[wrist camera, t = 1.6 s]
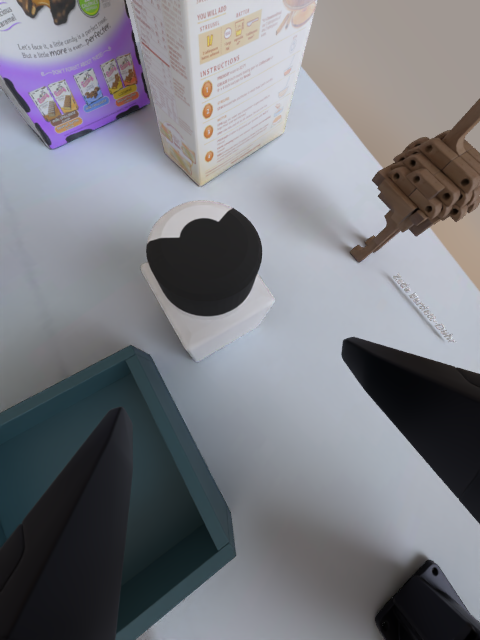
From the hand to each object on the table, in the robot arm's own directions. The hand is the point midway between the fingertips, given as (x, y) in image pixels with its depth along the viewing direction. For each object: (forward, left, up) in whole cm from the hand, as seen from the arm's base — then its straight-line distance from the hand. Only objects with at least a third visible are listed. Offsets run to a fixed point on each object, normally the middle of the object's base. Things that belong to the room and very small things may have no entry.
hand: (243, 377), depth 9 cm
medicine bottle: (+7, -2, -13) cm, 15 cm away
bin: (-1, +12, -13) cm, 18 cm away
